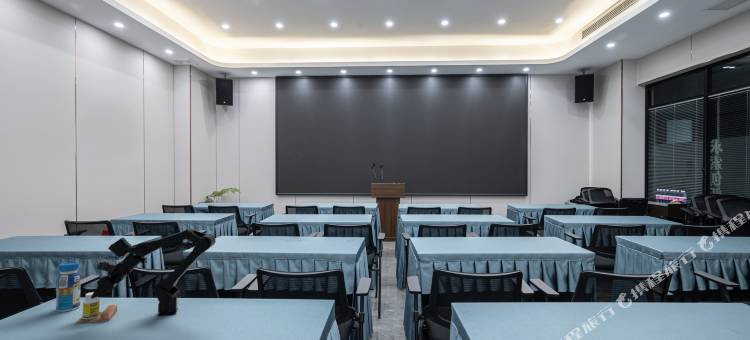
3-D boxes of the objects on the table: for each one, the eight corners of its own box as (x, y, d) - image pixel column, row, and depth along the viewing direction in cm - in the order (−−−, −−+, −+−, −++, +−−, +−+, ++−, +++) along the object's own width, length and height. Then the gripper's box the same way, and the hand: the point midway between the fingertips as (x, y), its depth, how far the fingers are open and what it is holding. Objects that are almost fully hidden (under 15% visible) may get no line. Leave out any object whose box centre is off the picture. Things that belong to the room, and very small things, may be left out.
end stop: (117, 311, 157) (117, 304, 157) (109, 320, 147) (109, 313, 147) (85, 314, 153) (85, 307, 153) (74, 324, 143) (74, 316, 143)
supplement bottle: (89, 320, 146) (90, 296, 146) (79, 319, 147) (79, 295, 147) (102, 315, 151) (103, 292, 151) (92, 313, 153) (92, 290, 153)
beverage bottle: (51, 309, 157) (52, 264, 157) (74, 303, 165) (75, 259, 165) (60, 313, 153) (61, 266, 153) (84, 307, 161) (85, 262, 161)
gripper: (118, 248, 160) (88, 275, 157) (103, 258, 143) (69, 288, 139) (139, 264, 163) (109, 291, 159) (126, 275, 146) (93, 306, 142)
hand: (96, 294), depth 150 cm, fingers open, 9 cm apart
